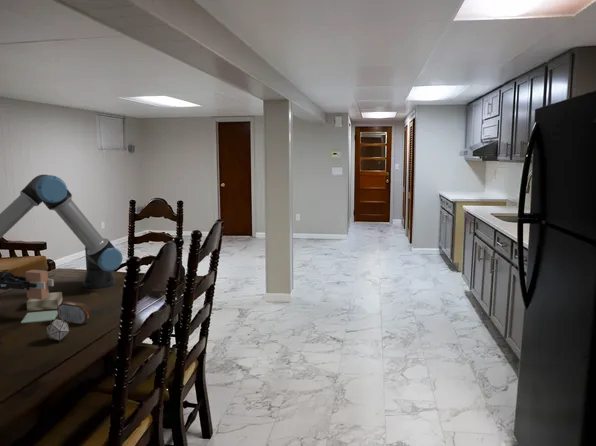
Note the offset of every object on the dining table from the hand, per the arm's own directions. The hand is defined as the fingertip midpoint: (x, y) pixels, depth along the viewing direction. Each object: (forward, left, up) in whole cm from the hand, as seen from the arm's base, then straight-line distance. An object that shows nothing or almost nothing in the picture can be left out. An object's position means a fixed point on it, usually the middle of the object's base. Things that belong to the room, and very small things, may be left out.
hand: (48, 284), depth 193 cm
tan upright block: (+5, -3, -6) cm, 8 cm away
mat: (+4, -3, -14) cm, 15 cm away
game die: (-7, +26, -15) cm, 31 cm away
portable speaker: (-10, +8, -15) cm, 19 cm away
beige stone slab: (+5, -19, -14) cm, 24 cm away
